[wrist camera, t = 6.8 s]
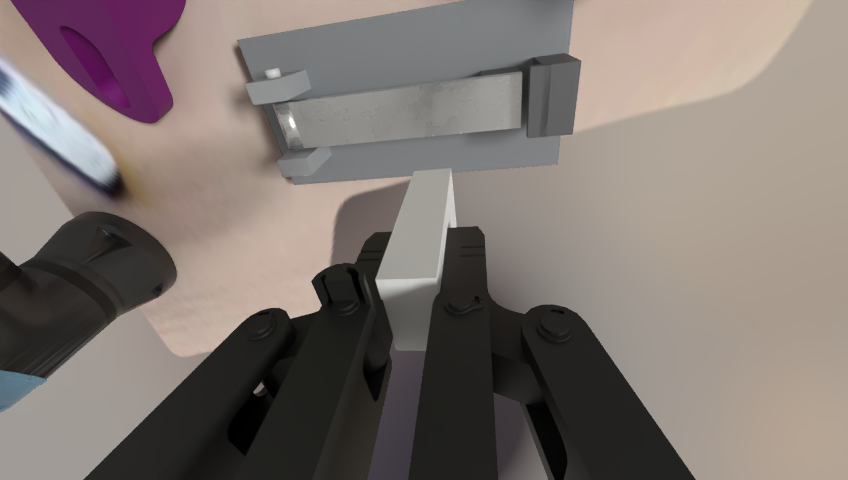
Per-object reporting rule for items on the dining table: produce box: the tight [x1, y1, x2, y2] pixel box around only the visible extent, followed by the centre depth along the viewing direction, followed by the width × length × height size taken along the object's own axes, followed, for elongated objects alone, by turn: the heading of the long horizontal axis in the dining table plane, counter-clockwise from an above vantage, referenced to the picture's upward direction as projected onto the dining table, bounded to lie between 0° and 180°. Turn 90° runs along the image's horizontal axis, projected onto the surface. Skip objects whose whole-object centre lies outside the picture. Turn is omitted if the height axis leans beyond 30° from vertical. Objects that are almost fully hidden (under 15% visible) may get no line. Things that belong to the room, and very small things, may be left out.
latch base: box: [237, 0, 581, 185], centre depth 29 cm, size 28×14×7 cm, turn 98°
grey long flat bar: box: [273, 71, 522, 151], centre depth 28 cm, size 21×4×2 cm, turn 98°
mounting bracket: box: [11, 0, 186, 123], centre depth 29 cm, size 10×8×18 cm
